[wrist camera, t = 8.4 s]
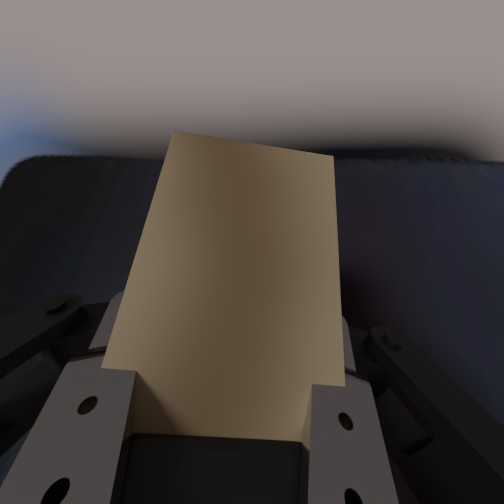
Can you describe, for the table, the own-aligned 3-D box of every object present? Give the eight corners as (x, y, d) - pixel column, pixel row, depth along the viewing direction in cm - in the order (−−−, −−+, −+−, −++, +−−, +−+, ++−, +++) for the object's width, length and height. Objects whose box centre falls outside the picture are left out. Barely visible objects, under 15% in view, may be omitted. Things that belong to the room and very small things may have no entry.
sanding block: (271, 250, 15) (336, 154, 5) (263, 373, 12) (362, 605, 3) (211, 243, 15) (171, 127, 5) (189, 367, 12) (19, 607, 2)
